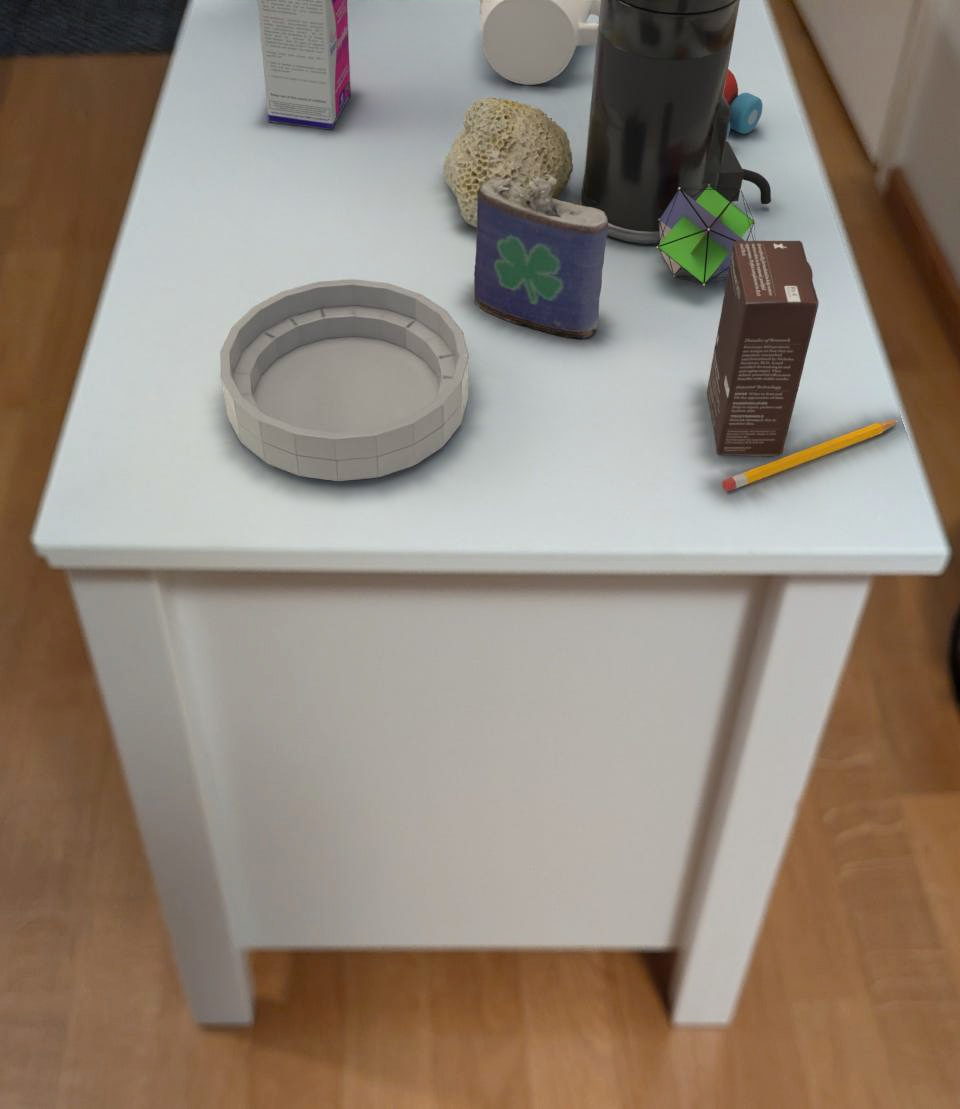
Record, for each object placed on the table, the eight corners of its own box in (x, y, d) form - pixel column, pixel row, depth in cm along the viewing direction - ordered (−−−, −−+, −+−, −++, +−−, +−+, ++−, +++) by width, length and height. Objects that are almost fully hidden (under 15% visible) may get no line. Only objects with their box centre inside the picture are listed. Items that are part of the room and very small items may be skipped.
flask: (602, 323, 86) (617, 186, 78) (585, 347, 85) (598, 210, 77) (483, 284, 89) (486, 148, 81) (464, 307, 87) (465, 170, 79)
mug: (470, 81, 108) (472, -12, 102) (483, 30, 114) (485, -59, 108) (609, 92, 108) (619, 0, 102) (614, 41, 114) (624, -49, 108)
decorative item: (618, 185, 90) (498, 147, 86) (558, 273, 96) (443, 242, 92) (578, 83, 97) (465, 43, 92) (525, 172, 103) (416, 138, 98)
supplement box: (335, 131, 102) (325, -9, 94) (266, 122, 103) (249, -18, 95) (354, 96, 106) (346, -42, 98) (287, 88, 107) (273, -50, 98)
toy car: (765, 125, 104) (789, 7, 97) (700, 165, 100) (720, 44, 93) (679, 85, 109) (696, -31, 101) (613, 121, 104) (625, 3, 97)
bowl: (449, 319, 86) (449, 271, 83) (483, 473, 76) (484, 425, 73) (226, 337, 85) (218, 288, 82) (231, 497, 75) (222, 449, 72)
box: (700, 394, 82) (731, 236, 73) (769, 395, 82) (809, 238, 73) (710, 458, 78) (745, 300, 69) (783, 460, 78) (827, 302, 69)
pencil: (726, 478, 75) (730, 488, 75) (900, 413, 80) (905, 423, 79) (720, 482, 76) (725, 492, 76) (893, 417, 80) (898, 427, 80)
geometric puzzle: (687, 170, 82) (620, 262, 87) (769, 235, 82) (697, 323, 87) (715, 145, 88) (650, 232, 93) (791, 206, 88) (722, 290, 93)
